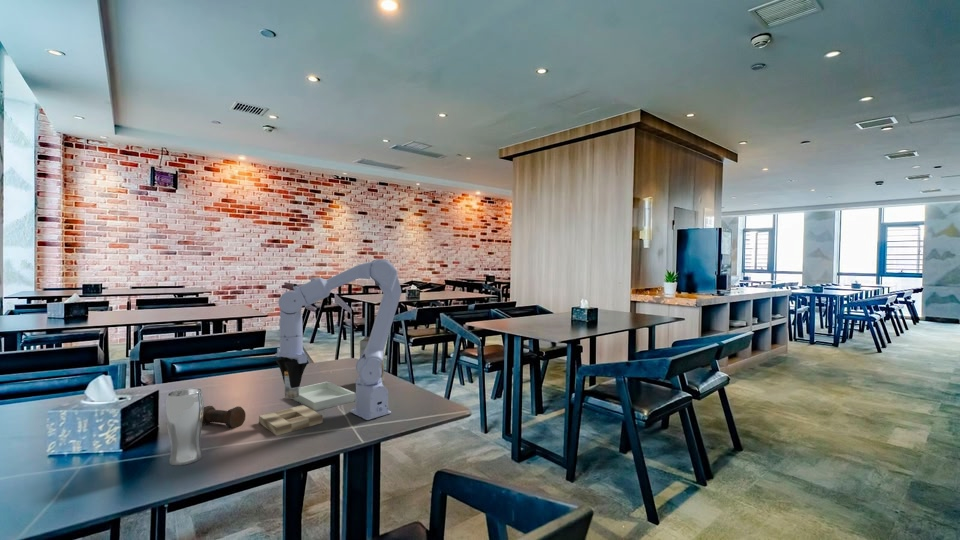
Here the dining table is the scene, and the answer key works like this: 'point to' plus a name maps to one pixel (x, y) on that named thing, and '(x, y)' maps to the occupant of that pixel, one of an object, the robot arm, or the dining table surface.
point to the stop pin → (288, 390)
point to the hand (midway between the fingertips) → (292, 385)
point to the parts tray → (324, 396)
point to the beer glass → (185, 424)
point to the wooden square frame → (290, 419)
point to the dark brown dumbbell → (224, 416)
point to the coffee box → (362, 347)
